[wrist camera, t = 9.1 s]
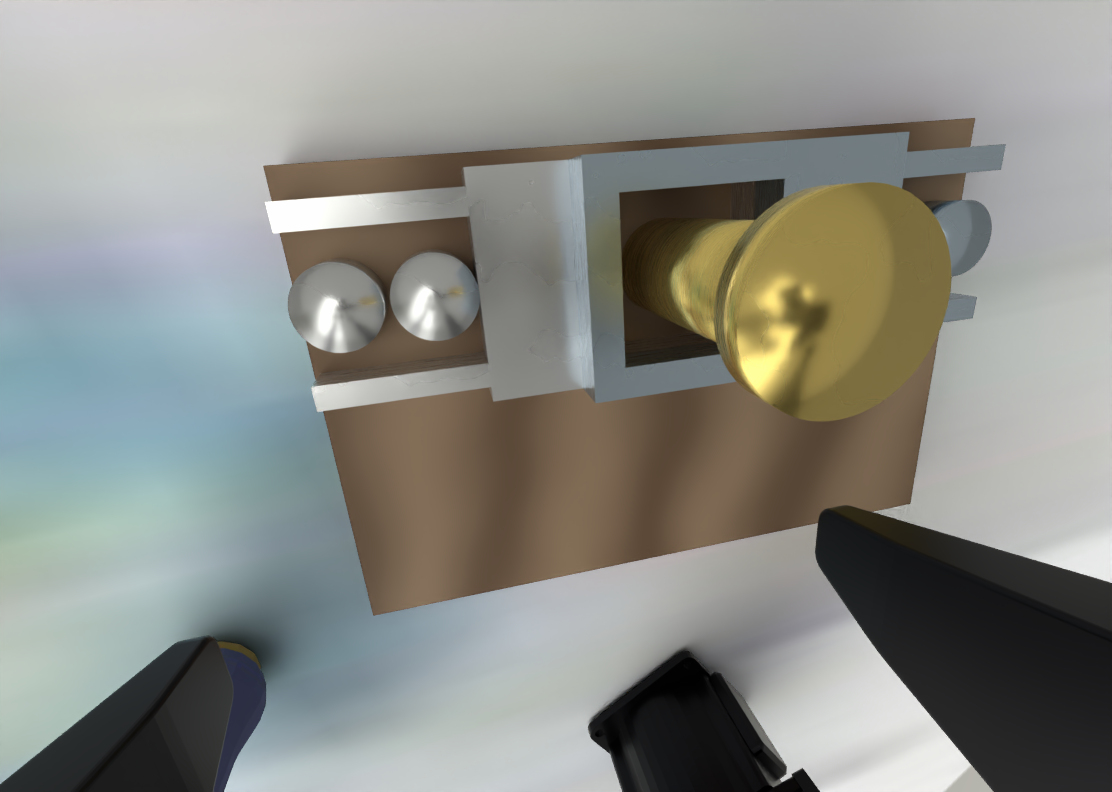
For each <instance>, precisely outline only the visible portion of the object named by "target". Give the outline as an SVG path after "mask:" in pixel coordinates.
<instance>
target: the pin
mask: <svg viewBox="0 0 1112 792" xmlns="http://www.w3.org/2000/svg"><path fill="white" fill-rule="evenodd" d="M621 259H622V287H623V289H624V291H625V293H626V295H627V296H628V297H629V299H630V300H631V301H632V302H633V303H634V304H636V305H637V306H639V307H641V308H643V309H645V310H647V311H649V312H651V313H653V314H656V315H658V316H660V317H662V318H664V319H666V320H669V321H671V322H673V323H675V324H677V325H679V326H682V327H684V328H686V329H688V330H690V331H692V332H695V333H697V334H699V335H701V336H703V337H705V338H708V339H710V340H712V341H714V342H716V343H717V346H718V350H719V352H720V355H721V358H722V360H723V362H724V364H725V366H726V368H727V370H728V371H729V373H730V374H731V375H732V377H733V378H734V379H735V381H736V382H737V383H738V384H739V385H741V386H742V387H743V388H744V389H745V390H746V391H748V392H749V393H751V394H752V395H754V396H755V397H757V398H759V399H761V400H762V401H764V402H766V403H768V404H769V405H771V406H773V407H775V408H776V409H778V410H780V411H782V412H784V413H786V414H788V415H790V416H792V417H796V418H799V419H803V420H808V421H834V420H840V419H844V418H848V417H851V416H855V415H857V414H859V413H862V412H864V411H866V410H868V409H870V408H872V407H874V406H875V405H877V404H879V403H881V402H882V401H883V400H885V399H886V398H888V397H889V396H890V395H892V394H893V393H894V392H895V391H896V390H897V389H899V388H900V387H901V386H902V385H903V384H904V383H905V382H906V381H907V380H908V379H909V378H910V377H911V376H912V374H913V373H914V372H915V371H916V369H917V368H918V367H919V366H920V364H921V363H922V362H923V360H924V358H925V357H926V355H927V354H928V352H929V351H930V349H931V347H932V345H933V343H934V341H935V339H936V337H937V335H938V333H939V330H940V328H941V325H942V323H943V320H944V317H945V313H946V310H947V307H948V301H949V296H950V289H951V259H950V253H949V247H948V244H947V241H946V237H945V234H944V232H943V230H942V228H941V226H940V223H939V221H938V220H937V218H936V217H935V216H934V214H933V213H932V211H931V210H930V209H929V208H928V207H927V206H926V205H925V204H924V203H923V202H922V201H921V200H920V199H919V198H917V197H916V196H914V195H913V194H912V193H910V192H908V191H906V190H904V189H902V188H900V187H897V186H893V185H889V184H886V183H876V182H866V183H850V184H835V185H820V186H815V187H811V188H806V189H803V190H801V191H798V192H795V193H793V194H791V195H789V196H787V197H785V198H783V199H781V200H780V201H778V202H777V203H775V204H774V205H772V206H771V207H770V208H768V209H767V210H766V211H764V212H763V213H762V214H761V215H760V216H759V217H758V218H757V219H756V220H737V219H702V218H667V217H666V218H658V219H654V220H651V221H648V222H647V223H645V224H643V225H642V226H640V227H639V228H638V229H637V230H635V231H634V232H633V234H632V235H631V236H630V237H629V239H628V240H627V242H626V244H625V246H624V248H623V250H622V253H621Z"/></svg>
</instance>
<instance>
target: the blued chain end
mask: <svg viewBox="0 0 1112 792" xmlns="http://www.w3.org/2000/svg"><path fill="white" fill-rule="evenodd" d="M908 140H909V132H897V133H883V134H869V135H855V136H841V137H826V138H812V139H798V140H784V141H770V142H756V143H741V144H727V145H713V146H699V147H685V148H670V149H656V150H642V151H628V152H614V153H599V154H585V155H579V156H577V157H574V158H571V159H568V168H569V183H570V198H571V214H572V229H573V244H574V259H575V275H576V290H577V305H578V320H579V335H580V351H581V366H582V381H583V389H584V390H585V391H586V393H587V394H588V395H589V396H590V397H591V399H592V400H593V401H594V402H595V403H601V402H608V401H614V400H621V399H627V398H634V397H640V396H647V395H653V394H660V393H666V392H673V391H680V390H686V389H693V388H699V387H706V386H712V385H719V384H725V383H732V382H736V381H735V379H734V378H733V377H732V375H731V374H730V373H729V371H728V370H727V368H726V366H725V364H724V362H723V360H722V358H721V355H720V352H719V350H718V346H717V343H716V342H714V341H711V342H704V343H697V344H690V345H682V346H675V347H668V348H661V349H654V350H646V351H639V352H632V353H625V342H624V314H623V287H622V259H621V232H620V204H619V192H630V191H642V190H654V189H666V188H678V187H690V186H702V185H714V184H726V183H738V182H749V181H756V191H755V214H754V220H756V219H757V218H758V217H759V216H760V215H761V214H762V213H763V212H764V211H766V210H767V209H768V208H770V207H771V206H772V205H774V204H775V203H777V202H778V201H780V200H781V199H783V198H785V197H787V196H789V195H791V194H793V193H795V192H798V191H801V190H803V189H806V188H811V187H815V186H820V185H835V184H850V183H866V182H876V183H886V184H889V185H893V186H897V187H900V188H902V185H903V178H911V177H923V176H934V175H946V174H957V173H969V172H980V171H991V170H1001V166H1002V161H1003V156H1004V150H1005V145H1006V144H1003V145H990V146H977V147H964V148H951V149H938V150H926V151H913V152H907V147H908ZM923 203H924V204H925V205H926V206H927V207H928V208H929V209H930V210H931V211H932V213H933V214H934V216H935V217H936V218H937V220H938V221H939V223H940V226H941V228H942V230H943V232H944V234H945V237H946V241H947V244H948V247H949V253H950V259H951V276H956V275H960V274H962V273H964V272H966V271H968V270H969V269H971V268H972V267H973V266H974V265H975V264H976V263H977V262H978V261H979V260H980V258H981V257H982V256H983V254H984V252H985V250H986V248H987V246H988V243H989V240H990V236H991V218H990V215H989V213H988V211H987V209H986V208H985V207H984V206H983V205H982V204H981V203H979V202H977V201H973V200H948V201H926V202H923ZM976 299H977V297H974V296H967V295H961V294H955V293H950V296H949V301H948V307H947V310H946V313H945V317H944V320H943V322H950V321H957V320H963V319H970V318H973V315H974V309H975V304H976Z"/></svg>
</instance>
